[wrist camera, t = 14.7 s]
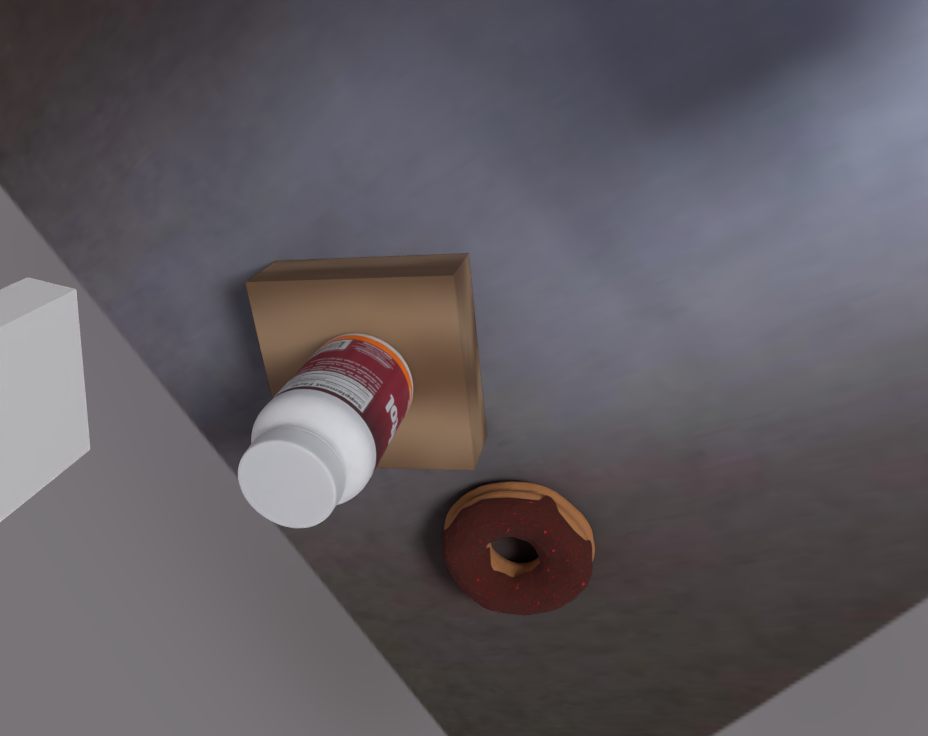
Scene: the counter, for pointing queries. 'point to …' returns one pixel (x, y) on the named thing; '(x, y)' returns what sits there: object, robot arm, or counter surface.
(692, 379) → the counter surface
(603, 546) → the counter surface
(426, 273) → the tan flat block
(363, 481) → the pill bottle
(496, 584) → the donut
